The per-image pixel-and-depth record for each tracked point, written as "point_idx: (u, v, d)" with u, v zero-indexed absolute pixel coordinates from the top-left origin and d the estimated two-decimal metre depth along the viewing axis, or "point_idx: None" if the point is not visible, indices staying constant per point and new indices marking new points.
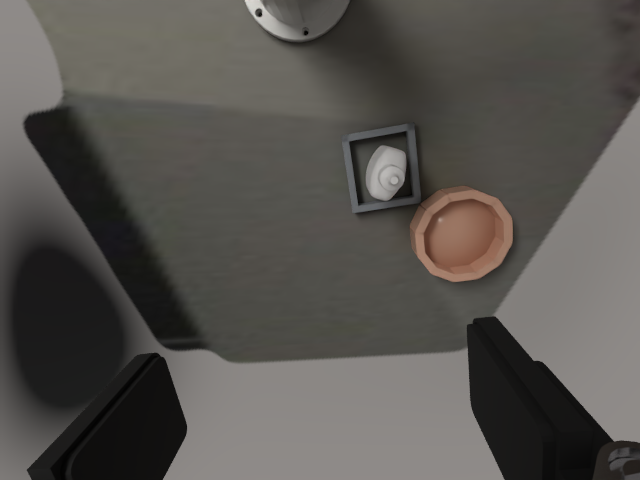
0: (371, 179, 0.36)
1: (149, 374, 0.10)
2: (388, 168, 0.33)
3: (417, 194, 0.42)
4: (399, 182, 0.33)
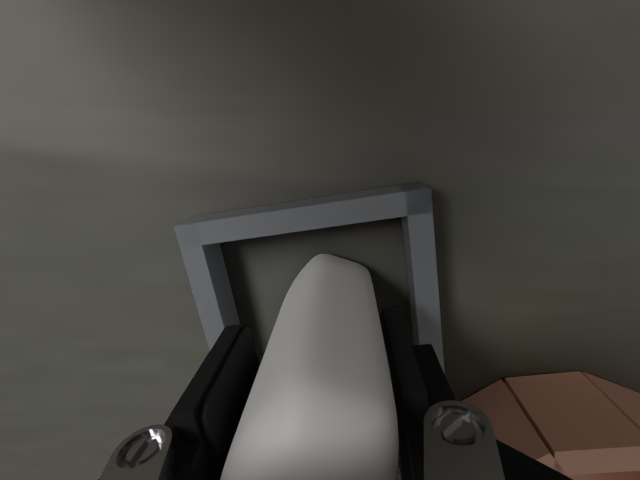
0: None
1: (242, 341, 0.10)
2: None
3: None
4: None
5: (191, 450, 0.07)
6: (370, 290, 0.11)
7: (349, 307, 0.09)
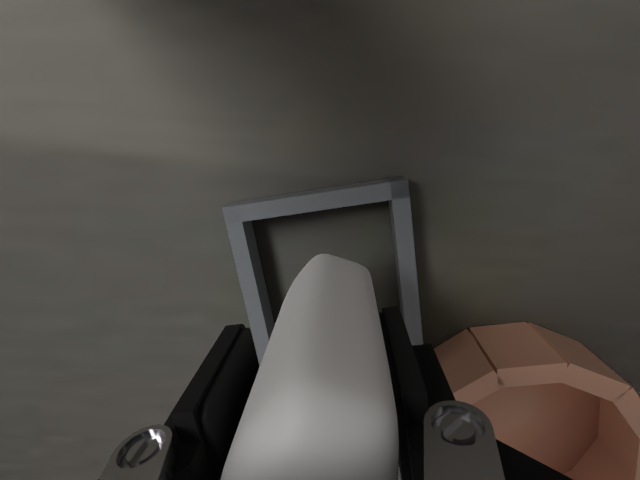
0: None
1: (242, 341, 0.10)
2: None
3: None
4: None
5: (191, 450, 0.07)
6: (370, 290, 0.11)
7: (349, 307, 0.09)
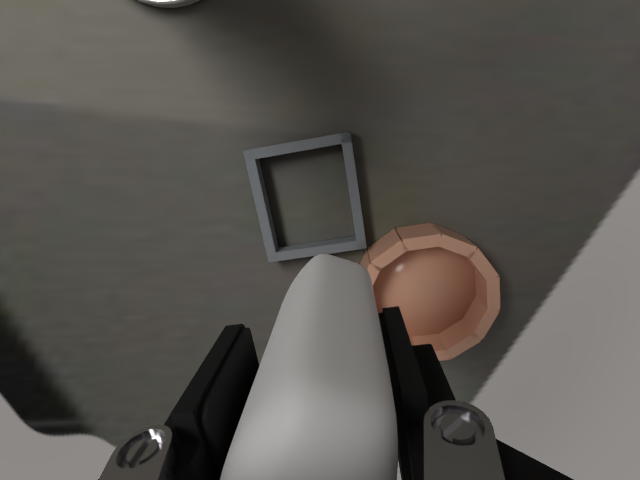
0: None
1: (242, 341, 0.10)
2: None
3: (360, 236, 0.29)
4: None
5: (191, 450, 0.07)
6: (369, 290, 0.11)
7: (348, 307, 0.09)
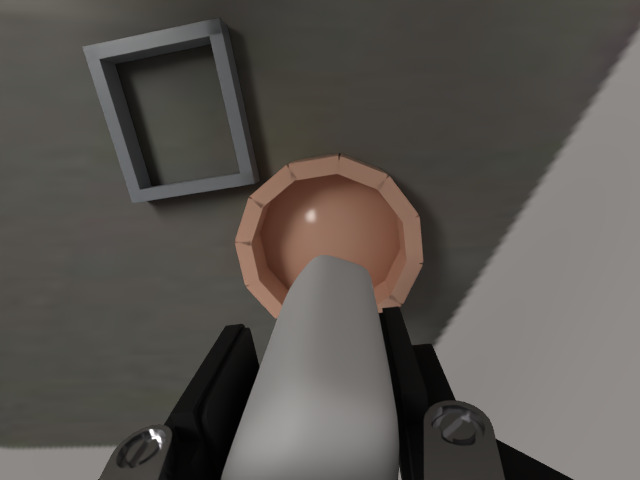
0: None
1: (242, 341, 0.10)
2: None
3: (245, 167, 0.22)
4: None
5: (191, 450, 0.07)
6: (370, 291, 0.11)
7: (349, 309, 0.09)
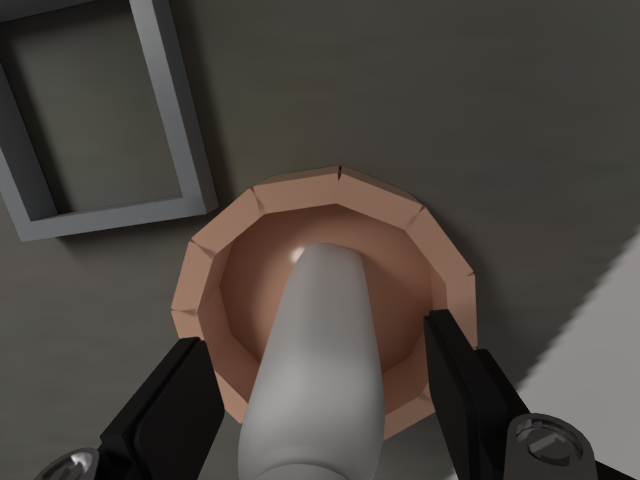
0: (239, 468, 0.08)
1: (194, 355, 0.10)
2: None
3: (191, 189, 0.14)
4: None
5: (121, 475, 0.07)
6: (360, 272, 0.12)
7: (340, 289, 0.10)
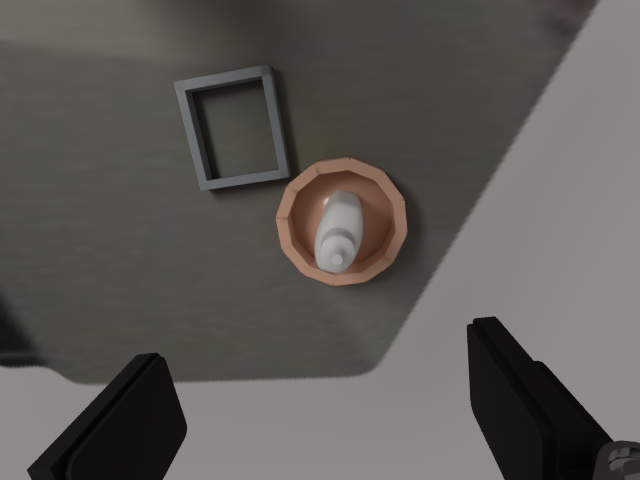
0: (315, 246, 0.26)
1: (149, 374, 0.10)
2: (330, 238, 0.22)
3: (282, 165, 0.31)
4: (347, 258, 0.22)
5: None
6: (357, 197, 0.30)
7: (349, 197, 0.28)
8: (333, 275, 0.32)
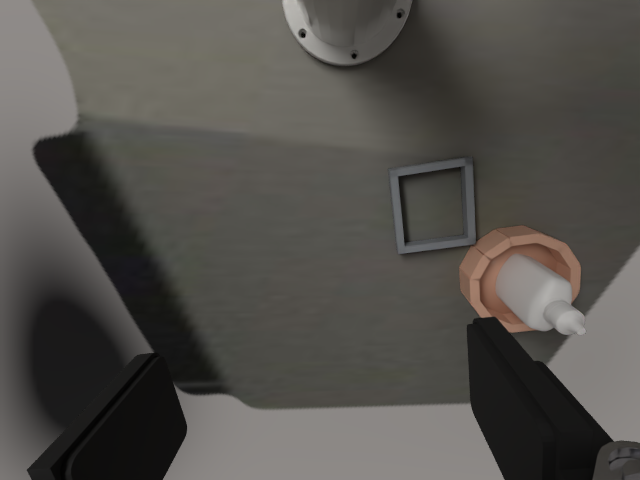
0: (530, 310, 0.32)
1: (149, 374, 0.10)
2: (567, 313, 0.29)
3: (472, 235, 0.38)
4: None
5: None
6: None
7: (544, 267, 0.35)
8: (511, 324, 0.39)
